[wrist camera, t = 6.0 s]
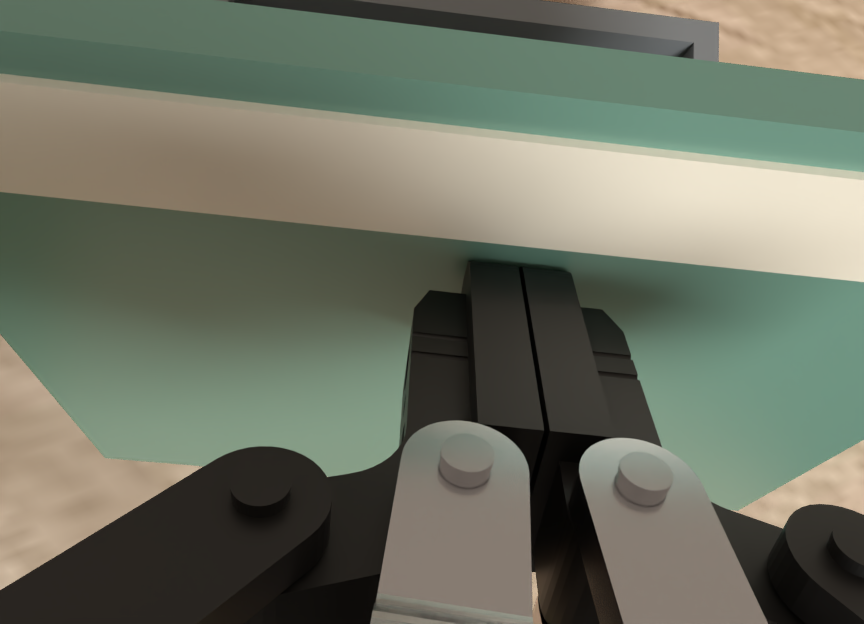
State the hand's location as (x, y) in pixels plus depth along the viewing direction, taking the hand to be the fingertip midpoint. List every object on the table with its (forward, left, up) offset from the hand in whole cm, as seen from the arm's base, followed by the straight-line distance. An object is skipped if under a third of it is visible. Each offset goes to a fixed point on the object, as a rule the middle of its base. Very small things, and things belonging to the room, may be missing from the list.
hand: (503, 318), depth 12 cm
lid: (0, 0, -3) cm, 3 cm away
